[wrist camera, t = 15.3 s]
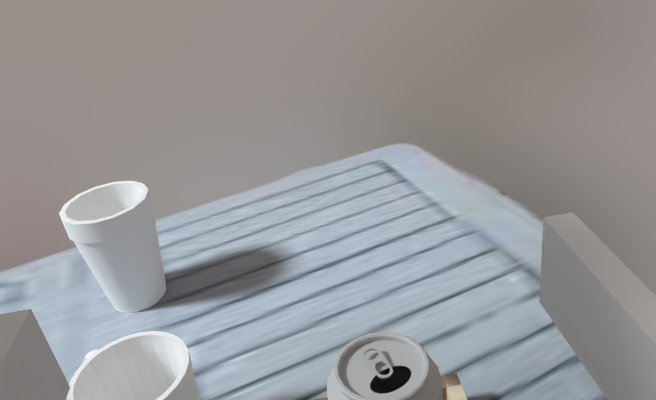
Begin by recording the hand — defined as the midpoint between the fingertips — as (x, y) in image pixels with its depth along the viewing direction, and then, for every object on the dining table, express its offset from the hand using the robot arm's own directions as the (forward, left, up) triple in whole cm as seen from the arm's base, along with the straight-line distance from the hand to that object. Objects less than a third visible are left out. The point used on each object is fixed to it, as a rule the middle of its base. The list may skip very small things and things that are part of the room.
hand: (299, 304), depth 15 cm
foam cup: (-50, +1, -30) cm, 58 cm away
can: (-12, +10, -30) cm, 33 cm away
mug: (-26, -4, -30) cm, 40 cm away
